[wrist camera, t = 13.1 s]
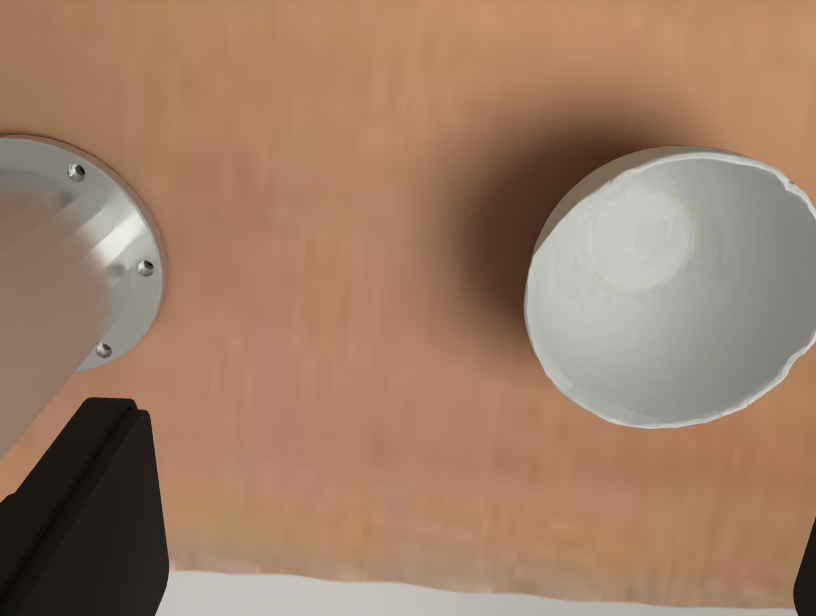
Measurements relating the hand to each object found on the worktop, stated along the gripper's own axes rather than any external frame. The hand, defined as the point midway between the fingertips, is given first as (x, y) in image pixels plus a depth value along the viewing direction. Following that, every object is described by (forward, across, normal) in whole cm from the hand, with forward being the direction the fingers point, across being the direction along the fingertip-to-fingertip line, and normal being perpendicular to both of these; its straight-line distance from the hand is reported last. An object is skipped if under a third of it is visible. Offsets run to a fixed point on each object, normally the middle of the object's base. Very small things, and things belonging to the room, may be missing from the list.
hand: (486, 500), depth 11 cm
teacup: (+28, -11, +6) cm, 31 cm away
